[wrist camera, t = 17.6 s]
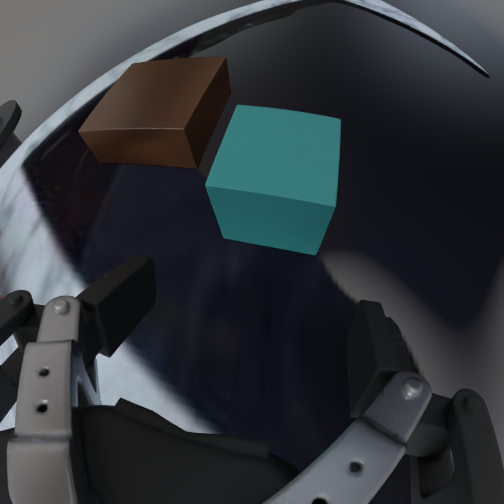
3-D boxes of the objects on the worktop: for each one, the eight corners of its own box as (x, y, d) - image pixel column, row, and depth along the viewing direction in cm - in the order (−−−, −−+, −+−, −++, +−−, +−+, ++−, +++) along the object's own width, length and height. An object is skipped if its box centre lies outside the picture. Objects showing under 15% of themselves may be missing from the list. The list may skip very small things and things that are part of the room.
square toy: (223, 238, 17) (204, 185, 12) (244, 166, 19) (237, 104, 14) (316, 255, 16) (336, 206, 11) (325, 179, 18) (341, 118, 13)
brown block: (99, 162, 20) (77, 131, 16) (144, 94, 23) (132, 63, 19) (197, 169, 19) (184, 129, 15) (231, 93, 22) (226, 56, 18)
